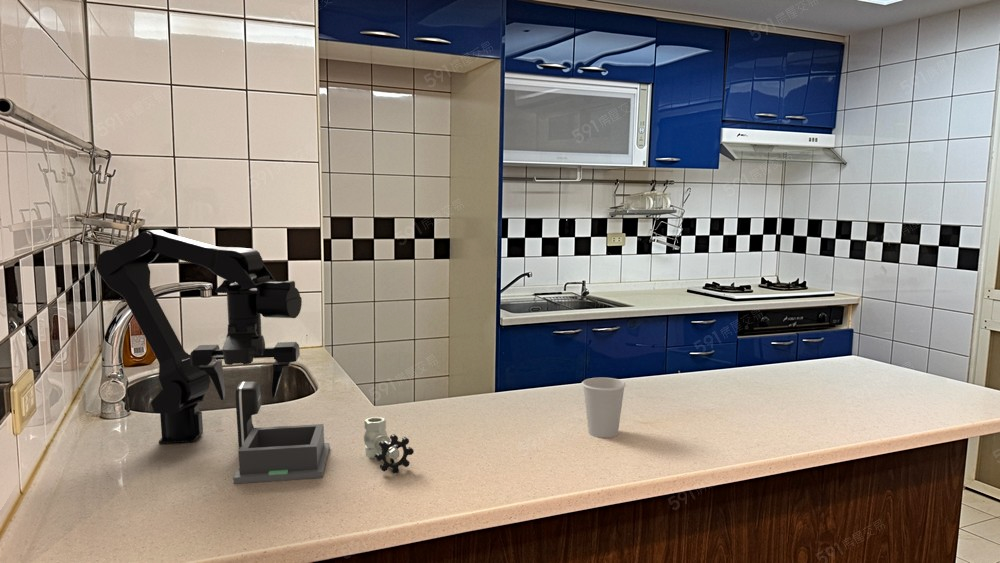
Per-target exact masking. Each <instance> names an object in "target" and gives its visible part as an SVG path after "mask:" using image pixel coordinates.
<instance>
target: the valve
mask: <svg viewBox="0 0 1000 563" xmlns="http://www.w3.org/2000/svg"><path fill="white" fill-rule="evenodd" d="M386 429H387V420H386V419H385V418H384V417H381V416H372V417H368V418H366V419H365V420H364V430H365V432H364V434H363V442H364V445H365V446H364V447H365V456H366V457H367V458H368V459H375V460H376V461H377V462H381V461H382V464H380V465H379V470H380V471H382V472H387V471H388V470H389V468H390V471H391V472H392V473H393V474H398V473H399V472H400V468H399V467H400V466H404V468H408V467H409V466H410V461H409V459H407V457H408V456H412V455H413V454H414V452H415V450H414V448H412V447H411V446H409V447H407V445H408V444H409V443H410V439H409V438H408V437H406V436H403V437H401V440H400V441H399V437H398V436H397V435H396V434H394V433H392V434H391V435H390V436H388V432H387V430H386ZM400 448H402V450H403V451H402V452H403V453H402V457H401V458H400V459H399V460H398V461H397V462H395V460H397V459H398V458H399V457H400V450H399V449H400ZM386 456H387V457H388V459H389V461H388V460H387V458H386Z"/></svg>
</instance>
